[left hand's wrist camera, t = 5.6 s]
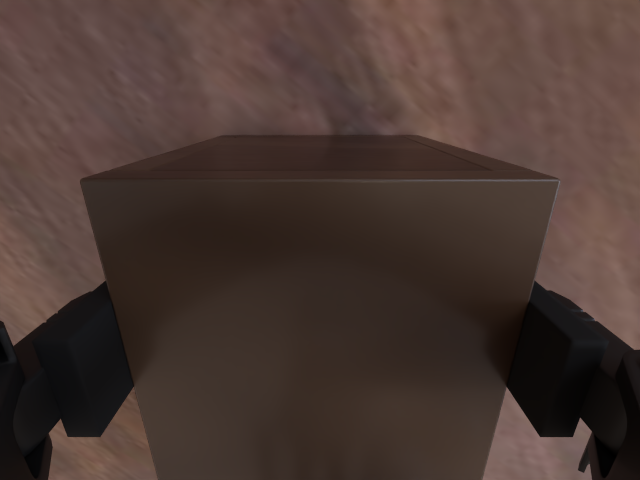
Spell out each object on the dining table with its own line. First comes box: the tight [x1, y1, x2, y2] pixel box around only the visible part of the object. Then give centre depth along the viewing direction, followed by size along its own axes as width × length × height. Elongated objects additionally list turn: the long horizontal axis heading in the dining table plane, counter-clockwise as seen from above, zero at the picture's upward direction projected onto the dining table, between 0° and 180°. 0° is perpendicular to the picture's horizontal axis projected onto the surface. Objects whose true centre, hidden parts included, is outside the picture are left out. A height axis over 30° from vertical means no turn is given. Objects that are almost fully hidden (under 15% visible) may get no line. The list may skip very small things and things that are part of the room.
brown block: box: [80, 135, 560, 480], centre depth 16 cm, size 21×10×11 cm, turn 0°
